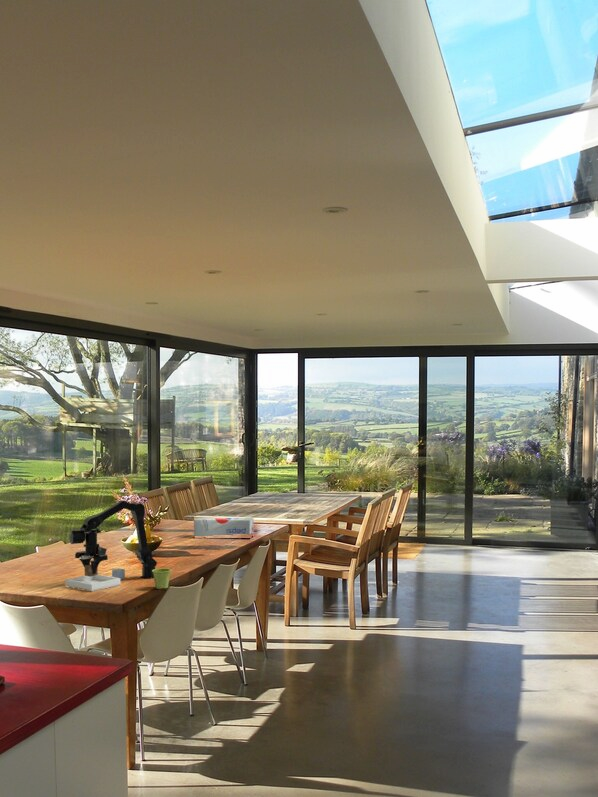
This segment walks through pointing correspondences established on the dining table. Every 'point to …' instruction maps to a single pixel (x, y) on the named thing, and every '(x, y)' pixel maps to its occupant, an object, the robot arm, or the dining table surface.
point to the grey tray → (93, 582)
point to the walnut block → (90, 571)
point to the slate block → (118, 573)
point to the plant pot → (161, 577)
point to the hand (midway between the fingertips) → (91, 573)
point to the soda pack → (222, 526)
